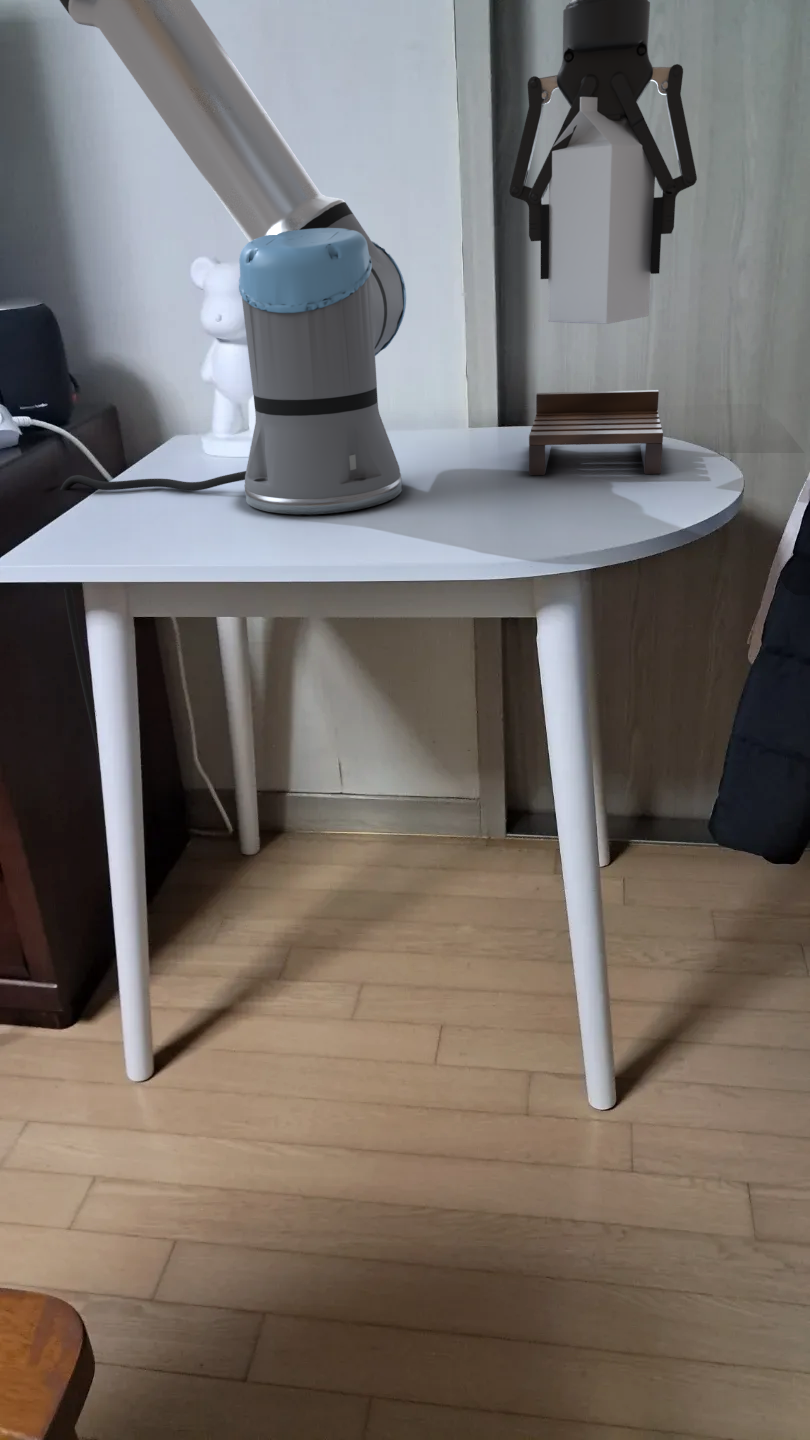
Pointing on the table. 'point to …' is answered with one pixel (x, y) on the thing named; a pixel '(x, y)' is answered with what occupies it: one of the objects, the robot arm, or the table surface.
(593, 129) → the milk carton
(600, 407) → the wooden bench
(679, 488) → the table surface
